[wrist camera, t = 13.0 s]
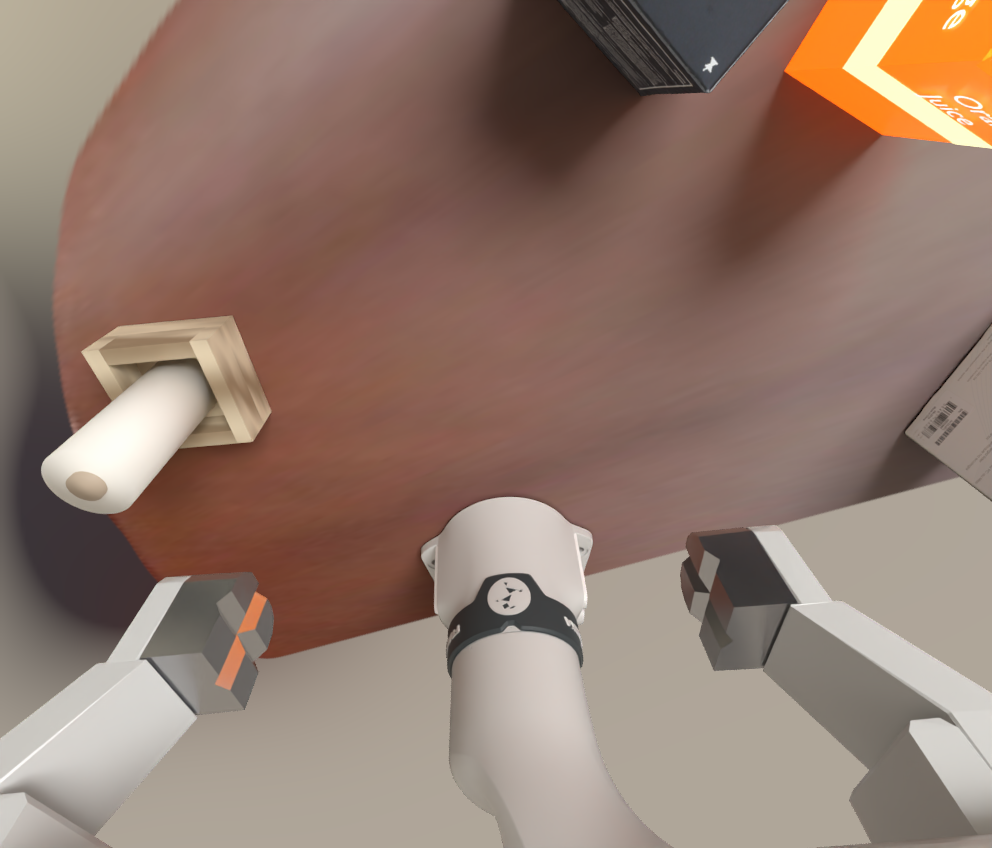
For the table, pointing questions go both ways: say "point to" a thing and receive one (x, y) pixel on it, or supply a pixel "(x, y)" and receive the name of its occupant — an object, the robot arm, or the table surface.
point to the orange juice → (905, 66)
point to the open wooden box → (219, 356)
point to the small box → (673, 38)
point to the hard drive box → (962, 419)
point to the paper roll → (130, 438)
